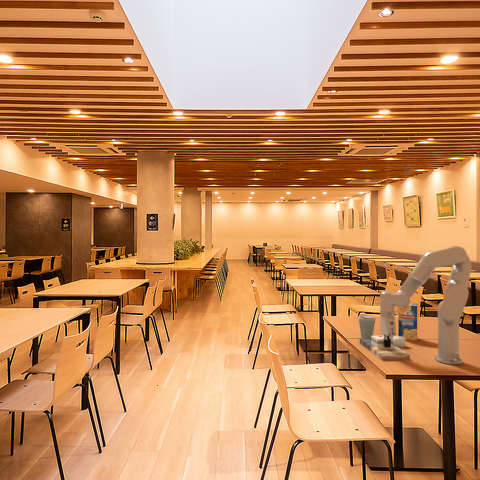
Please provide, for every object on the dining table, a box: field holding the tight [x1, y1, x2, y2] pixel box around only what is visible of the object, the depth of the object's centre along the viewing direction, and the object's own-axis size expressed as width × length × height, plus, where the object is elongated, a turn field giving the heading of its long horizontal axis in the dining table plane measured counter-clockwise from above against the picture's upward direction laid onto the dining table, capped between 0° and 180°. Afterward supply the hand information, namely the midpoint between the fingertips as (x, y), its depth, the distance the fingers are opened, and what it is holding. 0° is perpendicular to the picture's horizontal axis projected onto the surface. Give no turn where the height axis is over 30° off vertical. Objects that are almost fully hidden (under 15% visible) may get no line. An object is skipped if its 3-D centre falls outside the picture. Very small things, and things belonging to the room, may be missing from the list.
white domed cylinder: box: [393, 335, 406, 349], centre depth 221 cm, size 7×7×5 cm
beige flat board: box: [359, 338, 411, 361], centre depth 211 cm, size 32×15×2 cm, turn 2°
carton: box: [371, 334, 393, 348], centre depth 211 cm, size 8×9×6 cm
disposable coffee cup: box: [357, 313, 376, 339], centre depth 236 cm, size 11×11×15 cm
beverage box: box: [397, 302, 418, 342], centre depth 236 cm, size 7×11×22 cm, turn 66°
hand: (387, 347), depth 205 cm, fingers closed
